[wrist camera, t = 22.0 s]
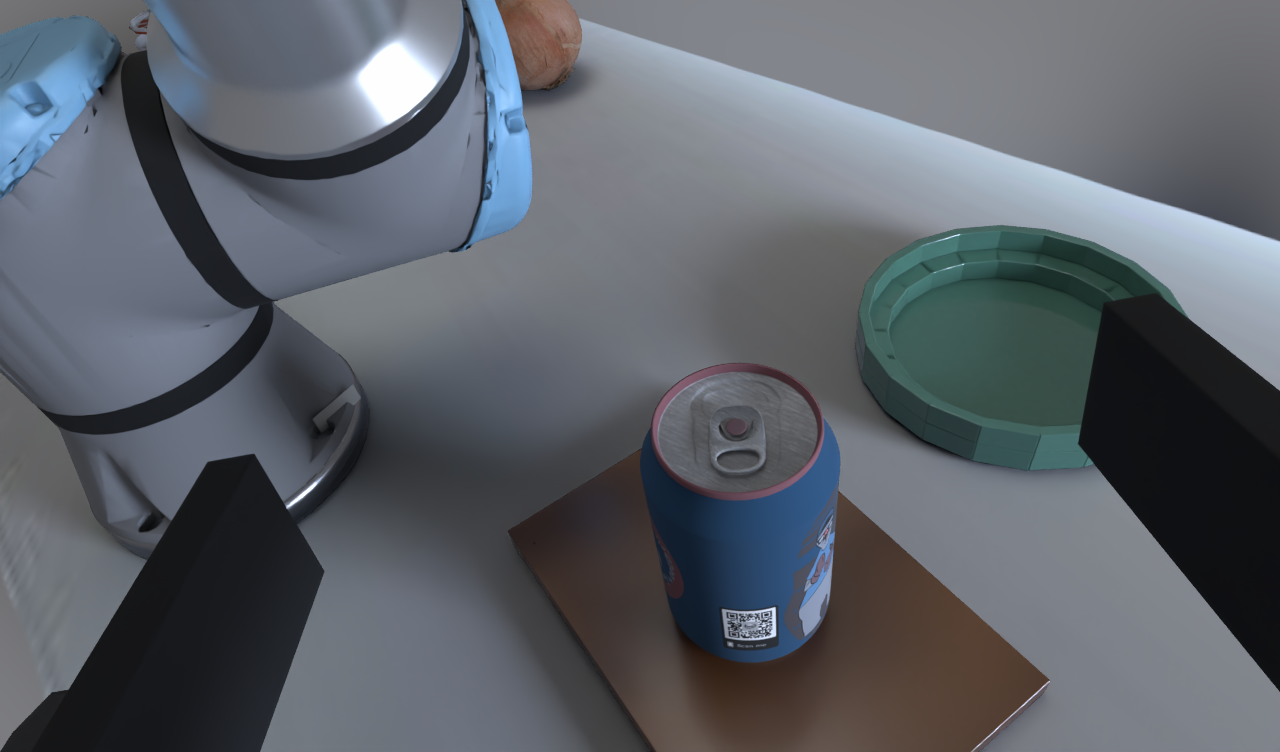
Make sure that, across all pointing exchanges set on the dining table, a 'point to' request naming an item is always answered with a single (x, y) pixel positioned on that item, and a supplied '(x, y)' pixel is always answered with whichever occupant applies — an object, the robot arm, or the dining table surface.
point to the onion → (541, 40)
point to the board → (792, 684)
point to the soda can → (743, 509)
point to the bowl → (993, 339)
